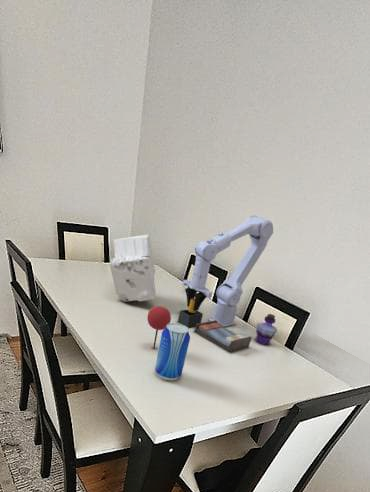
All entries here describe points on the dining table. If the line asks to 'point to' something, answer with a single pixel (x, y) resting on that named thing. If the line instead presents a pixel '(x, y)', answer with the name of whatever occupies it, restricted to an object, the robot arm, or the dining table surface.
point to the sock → (192, 306)
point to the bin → (189, 318)
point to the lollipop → (158, 319)
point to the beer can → (172, 351)
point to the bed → (222, 336)
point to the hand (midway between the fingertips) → (192, 308)
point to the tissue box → (133, 268)
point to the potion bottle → (266, 330)
